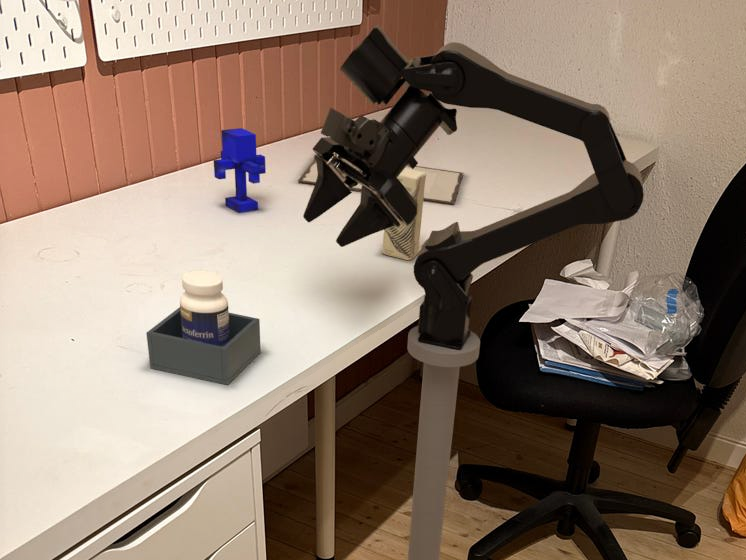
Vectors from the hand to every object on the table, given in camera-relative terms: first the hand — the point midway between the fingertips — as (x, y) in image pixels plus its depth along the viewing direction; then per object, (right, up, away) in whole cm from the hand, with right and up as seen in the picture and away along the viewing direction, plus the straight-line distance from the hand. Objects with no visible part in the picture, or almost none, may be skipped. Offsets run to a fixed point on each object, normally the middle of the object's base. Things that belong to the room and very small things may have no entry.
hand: (321, 231), depth 123 cm
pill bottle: (-14, -17, -2) cm, 22 cm away
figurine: (-21, +23, +44) cm, 54 cm away
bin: (-14, -17, -1) cm, 22 cm away
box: (+7, +11, +35) cm, 38 cm away
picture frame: (+1, +39, +66) cm, 77 cm away
